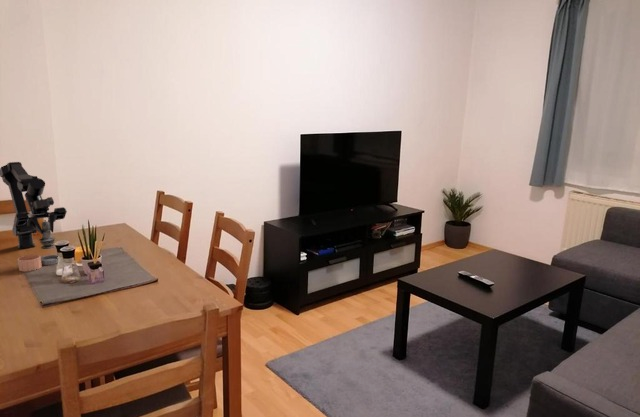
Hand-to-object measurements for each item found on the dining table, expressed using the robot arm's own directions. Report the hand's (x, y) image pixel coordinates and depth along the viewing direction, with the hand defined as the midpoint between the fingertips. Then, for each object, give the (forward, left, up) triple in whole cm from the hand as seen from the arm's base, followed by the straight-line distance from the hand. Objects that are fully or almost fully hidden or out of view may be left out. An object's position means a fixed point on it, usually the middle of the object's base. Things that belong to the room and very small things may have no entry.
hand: (47, 232), depth 191 cm
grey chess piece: (-1, 0, -7) cm, 7 cm away
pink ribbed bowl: (+3, -8, -13) cm, 16 cm away
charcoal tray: (-1, 0, -13) cm, 13 cm away
